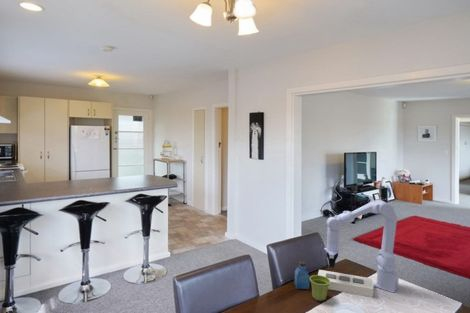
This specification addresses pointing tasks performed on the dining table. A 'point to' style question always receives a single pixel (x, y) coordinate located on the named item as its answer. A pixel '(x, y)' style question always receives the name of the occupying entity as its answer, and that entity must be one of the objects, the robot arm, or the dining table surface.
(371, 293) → the button panel
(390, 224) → the robot arm
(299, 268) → the perfume bottle
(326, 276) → the button
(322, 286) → the plant pot
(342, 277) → the button middle
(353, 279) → the button
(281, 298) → the dining table surface
